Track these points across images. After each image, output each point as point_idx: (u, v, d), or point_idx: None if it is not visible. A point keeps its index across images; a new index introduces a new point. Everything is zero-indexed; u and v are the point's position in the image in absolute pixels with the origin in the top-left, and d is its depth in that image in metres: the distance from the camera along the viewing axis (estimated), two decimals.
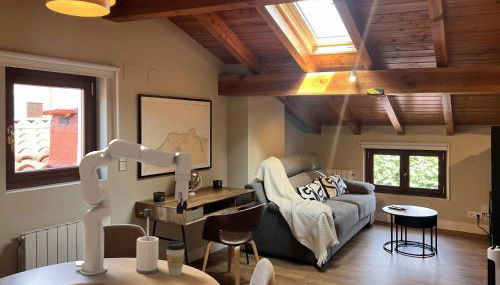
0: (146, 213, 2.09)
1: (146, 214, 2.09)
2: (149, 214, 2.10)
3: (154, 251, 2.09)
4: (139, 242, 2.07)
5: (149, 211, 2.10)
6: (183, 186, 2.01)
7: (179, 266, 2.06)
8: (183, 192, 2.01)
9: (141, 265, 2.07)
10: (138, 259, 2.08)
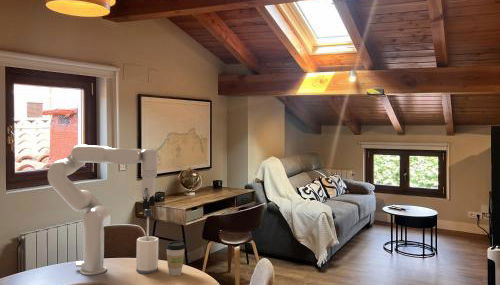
0: (146, 213, 2.09)
1: (146, 214, 2.09)
2: (149, 214, 2.10)
3: (154, 251, 2.09)
4: (139, 242, 2.07)
5: (149, 211, 2.10)
6: (149, 182, 2.06)
7: (179, 266, 2.06)
8: (149, 188, 2.06)
9: (141, 265, 2.07)
10: (138, 259, 2.08)
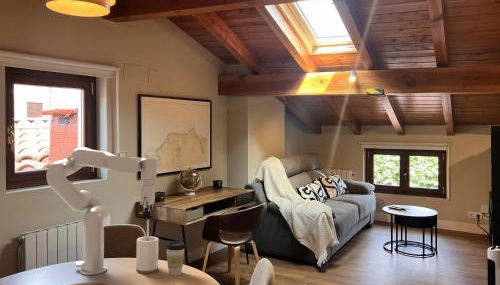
0: None
1: None
2: None
3: (154, 251, 2.09)
4: (139, 242, 2.07)
5: None
6: (148, 191, 2.06)
7: (179, 266, 2.06)
8: (148, 197, 2.06)
9: (141, 265, 2.07)
10: (138, 259, 2.08)
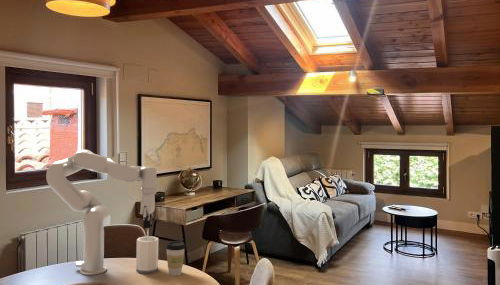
0: None
1: None
2: None
3: (154, 251, 2.09)
4: (139, 242, 2.07)
5: None
6: (148, 200, 2.06)
7: (179, 266, 2.06)
8: (148, 206, 2.06)
9: (141, 265, 2.07)
10: (138, 259, 2.08)
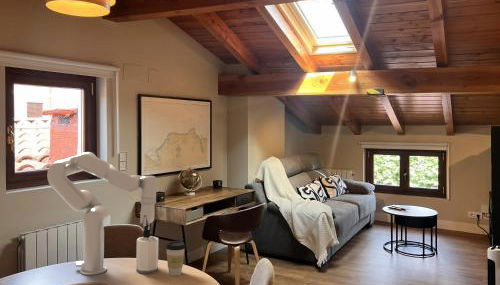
0: None
1: None
2: None
3: (154, 251, 2.09)
4: (139, 242, 2.07)
5: (149, 229, 2.10)
6: (148, 209, 2.06)
7: (179, 266, 2.06)
8: (148, 215, 2.06)
9: (141, 265, 2.07)
10: (138, 259, 2.08)
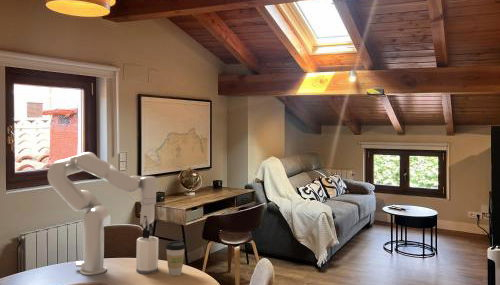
0: None
1: None
2: (149, 232, 2.10)
3: (154, 251, 2.09)
4: (139, 242, 2.07)
5: (149, 229, 2.10)
6: (148, 210, 2.06)
7: (179, 266, 2.06)
8: (148, 216, 2.06)
9: (141, 265, 2.07)
10: (138, 259, 2.08)
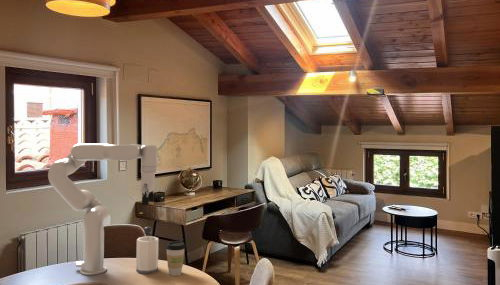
0: (146, 231, 2.10)
1: (146, 232, 2.10)
2: (149, 232, 2.10)
3: (154, 251, 2.09)
4: (139, 242, 2.07)
5: (149, 229, 2.10)
6: (148, 178, 2.06)
7: (179, 266, 2.06)
8: (148, 183, 2.06)
9: (141, 265, 2.07)
10: (138, 259, 2.08)
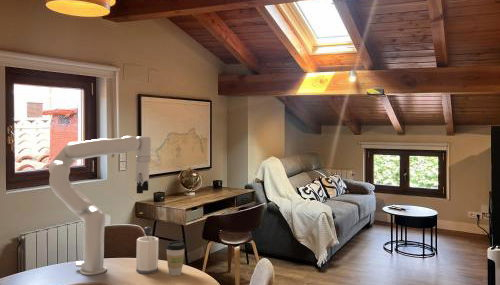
0: (146, 231, 2.10)
1: (146, 232, 2.10)
2: (149, 232, 2.10)
3: (154, 251, 2.09)
4: (139, 242, 2.07)
5: (149, 229, 2.10)
6: (143, 167, 2.16)
7: (179, 266, 2.06)
8: (143, 173, 2.16)
9: (141, 265, 2.07)
10: (138, 259, 2.08)
